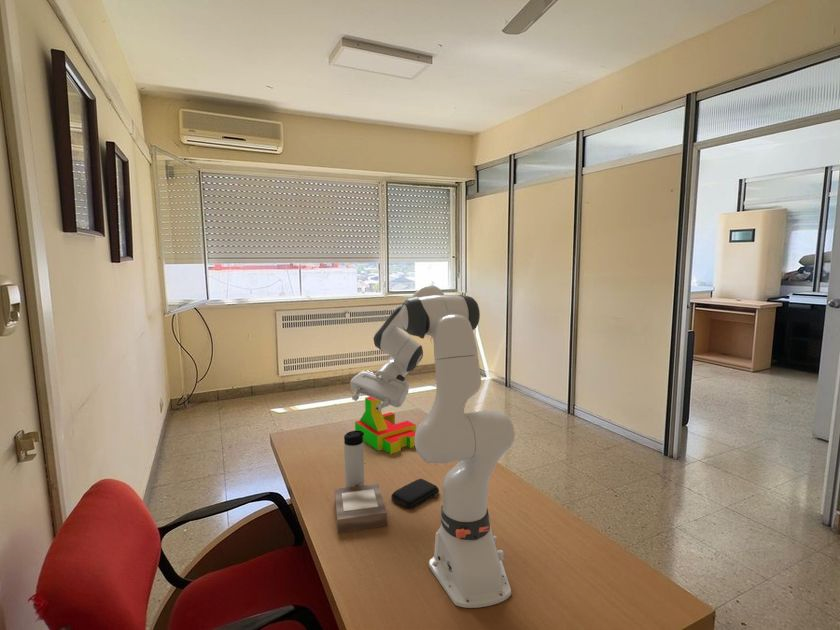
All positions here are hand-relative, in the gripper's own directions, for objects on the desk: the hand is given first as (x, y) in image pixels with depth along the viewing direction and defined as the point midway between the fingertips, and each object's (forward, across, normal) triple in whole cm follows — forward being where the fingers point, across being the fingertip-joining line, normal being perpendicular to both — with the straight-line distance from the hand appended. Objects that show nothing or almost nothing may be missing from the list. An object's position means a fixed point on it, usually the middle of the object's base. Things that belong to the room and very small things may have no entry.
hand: (365, 403), depth 146 cm
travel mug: (+15, +4, +25) cm, 29 cm away
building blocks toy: (-20, -5, +43) cm, 48 cm away
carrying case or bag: (+10, +24, +23) cm, 35 cm away
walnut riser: (+24, +13, +18) cm, 33 cm away
